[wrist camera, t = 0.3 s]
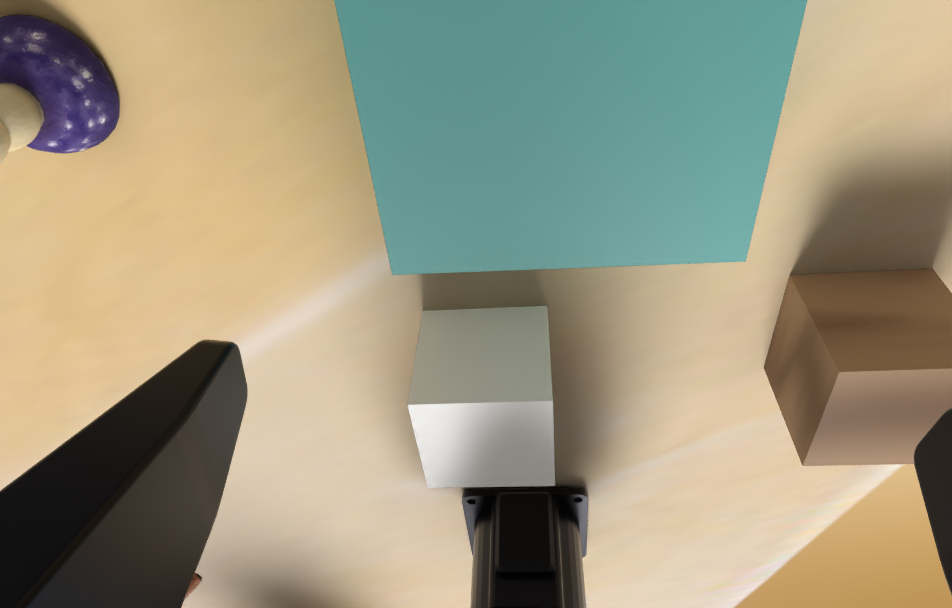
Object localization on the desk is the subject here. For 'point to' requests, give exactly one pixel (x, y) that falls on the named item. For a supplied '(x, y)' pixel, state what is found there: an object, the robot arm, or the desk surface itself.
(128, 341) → the desk surface
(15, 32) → the toy lamp
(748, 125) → the teal base block
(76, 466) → the robot arm
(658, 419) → the desk surface
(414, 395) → the grey cube
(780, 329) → the walnut cube
